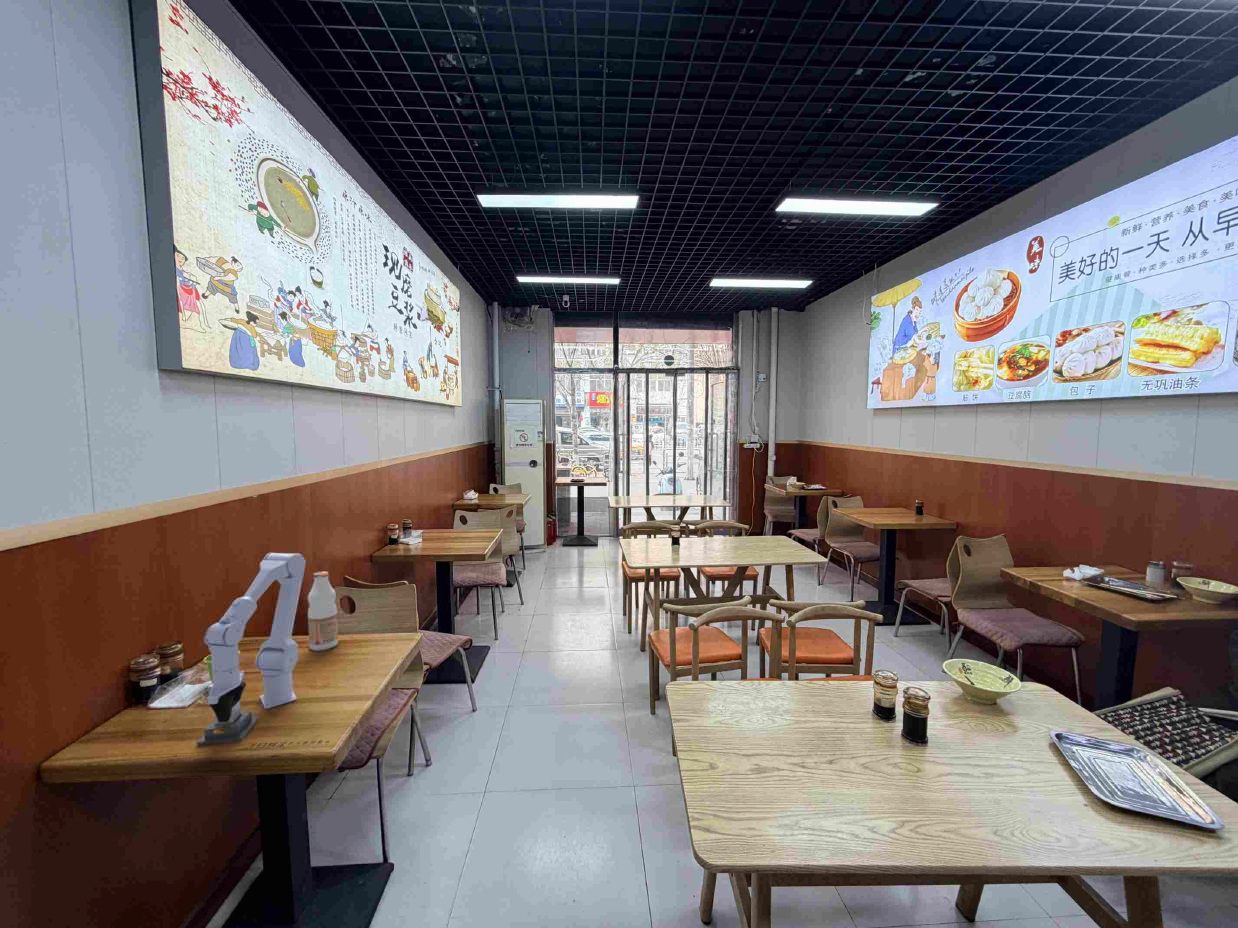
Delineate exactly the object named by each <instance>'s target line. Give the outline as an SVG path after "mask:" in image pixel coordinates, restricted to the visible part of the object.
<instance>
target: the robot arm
mask: <svg viewBox="0 0 1238 928" xmlns="http://www.w3.org/2000/svg"><path fill="white" fill-rule="evenodd" d="M306 563H307V561H306V559H305V558H304V556H303V555H302V554H301V553H299V552H297V553H285V552H283V553H282V552H280V553H279V552H278V553H277V552H268V553H267V554H266V555H265V556H264V558H263V559H262V560H261V561H260V562H259V572H258V573H257V575H256V577H255V578H254V580H253V581H252V583H251V584H250V586H249V587H248V589H247V590H246V592H245V594H244V595H243V596H241V597H238V598H235V600H233V602H232V603H231V605H230V606H229V608H227V610H226V611H225V613H224V614H223V615H222V617H221V618H220V620H219V621H218V622H215V623H214V624H212V625H211V626H209V627H208V628H207V630H206V632H205V636H204V637H203V640H204V643H205V644H206V645H207V646H208V651H209V652H211V653H210V655H211V658H212V676H213V683H212V682H211V684H209V685H208V686H207V689H208V690H210V693H209V695H208V696H207V697H206V698H207V699H206V703H207V705H208V706H209V707H210V708H211V709H212V710H213V712H214V714H216V716H215V718H216V717H217V719H218V721H219V723H220V722H228V721H229V718H230V708H231V703H232V701H237V700H240V701H241V698H242V695H243V693H244V690H245V688H246V686H247V683H246V682H245V681H242V680H243V679H245V670H240V657H239V656H240V654H239V653H238V650H239V642H240V641H241V640H242V639H243V637H244V632H245V628H246V624H247V623H248V621H249V620H250V618H251V617H252V616H253V615H254V613H255V611H256V610H257V609H258V603H257V602H258V600H259V599H260V597H261V596H263V594H264V593H265V592H266V591H267V589H269V587H270V586H271V585H272V584H273V582H274V581H277V582H278V583H279V584H280V586H279V587H280V588H279V593H278V598H277V603H276V606H275V607H276V608H275V611H274V612H275V613H274V616H273V621H272V626H271V632H270V636H269V638H268V639H267V640H265V641H264V642H262V643H261V645H260V649H259V651H258V653H257V654H256V656H255V662H254V663H255V664H254V665H255V668H256V669H257V670H259V671H260V674H261V675H262V681H263V682H262V683H263V685H262V686H263V694H261V695H260V696H259V698H260V701H261V703H262V705H263V708H264V709H266V710H267V709H270V708H274V707H278V706H280V705H283V704H287V703H290V702H293V701H296V700H297V699H298V698H297V695H295V693H294V690H293V669H295V667H296V665H297V663H298V661H299V654H298V649H299V648H298V647H299V644H297V642H296V641H295V640H293V638H292V634H293V629H294V625H295V624H294V623H295V618H296V614H297V608H298V605H299V598H300V593H301V588H302V587H301V586H302V583H303V579H304V573H305V570H306V569H305V568H306Z"/></svg>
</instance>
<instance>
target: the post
mask: <svg viewBox="0 0 1238 928" xmlns="http://www.w3.org/2000/svg"><path fill="white" fill-rule="evenodd" d="M241 709H242V708H241V699H240V700H237V701H232V703H231V708H230V718H229V721H228V722H220V723H219V721H218V719H217V717H216V714H215V713H214V714H215V719H216V726H217V725H226V724H234V723H235V722H236V721H237V720H238V719H239V718H240V717H241V712H242V711H241Z"/></svg>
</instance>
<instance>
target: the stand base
mask: <svg viewBox="0 0 1238 928" xmlns="http://www.w3.org/2000/svg"><path fill="white" fill-rule="evenodd" d="M252 716H253V715H252V710H246V711H245V710H244V711H241V717H240V718H239V719H238V720H237V721H236V722H235V723H234V724H226V725H217V726H216V718H215V719H214V720H213V721H211V723H210V724H209V725H207V727H205V728H204V730H203V731H204V734H203V736H201V738H199V740H198V741H196V747H200V746H201V747H202V746H209V745H219V744H225V743H226V744H229V743H235V742H241V741H242V740H244V738H245V737H246V736H247V735H248V733H249V732H250V731H251V730H252V729H253V728H254V726H255V725H256V724H257V723H258V722H259V720H260V716H253V717H252Z"/></svg>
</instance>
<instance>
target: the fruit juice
mask: <svg viewBox="0 0 1238 928" xmlns="http://www.w3.org/2000/svg"><path fill="white" fill-rule="evenodd" d="M329 575H330V573H329V572H328V571H317V572H314V573H313V576H312V577H313V579H314V582H313V584H312V586H311V589H310V591H309V593H308V595H307V601H308V604H309V607H308V609H307V621H308V646H309V648H310V650H311V651H325V650H330V649H331V648H335V647H336V646H337V645H338V642H339V633H338V632H339V630H338V609H337V605H336V596H337V595H336V594H337V593H336V590H335V589H334V588H333V587H332V585H331V582H330V581H329Z"/></svg>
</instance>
